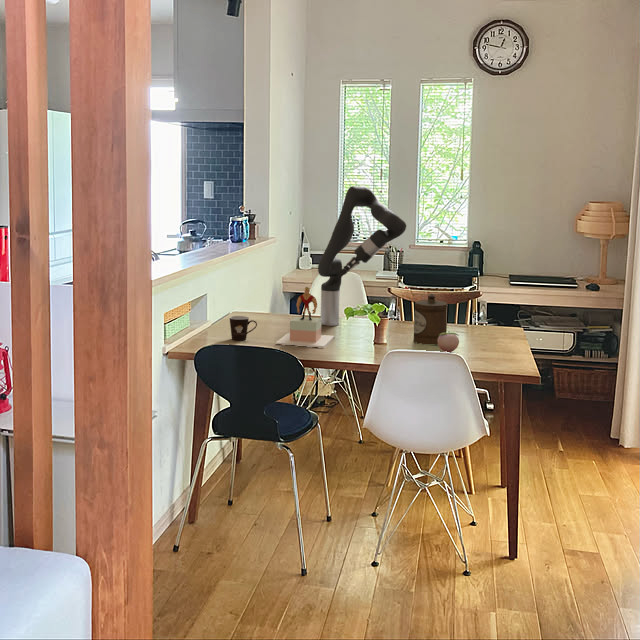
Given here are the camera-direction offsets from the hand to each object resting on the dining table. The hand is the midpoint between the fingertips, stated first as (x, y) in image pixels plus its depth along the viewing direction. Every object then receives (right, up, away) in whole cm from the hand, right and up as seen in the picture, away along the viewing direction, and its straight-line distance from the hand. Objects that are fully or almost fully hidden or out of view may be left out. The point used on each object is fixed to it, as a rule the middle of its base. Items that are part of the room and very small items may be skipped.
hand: (341, 274), depth 359 cm
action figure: (-16, -20, +3) cm, 26 cm away
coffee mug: (-45, -29, +5) cm, 54 cm away
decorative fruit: (+46, -35, -11) cm, 59 cm away
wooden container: (+41, -30, +11) cm, 52 cm away
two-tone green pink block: (-16, -30, +5) cm, 34 cm away
